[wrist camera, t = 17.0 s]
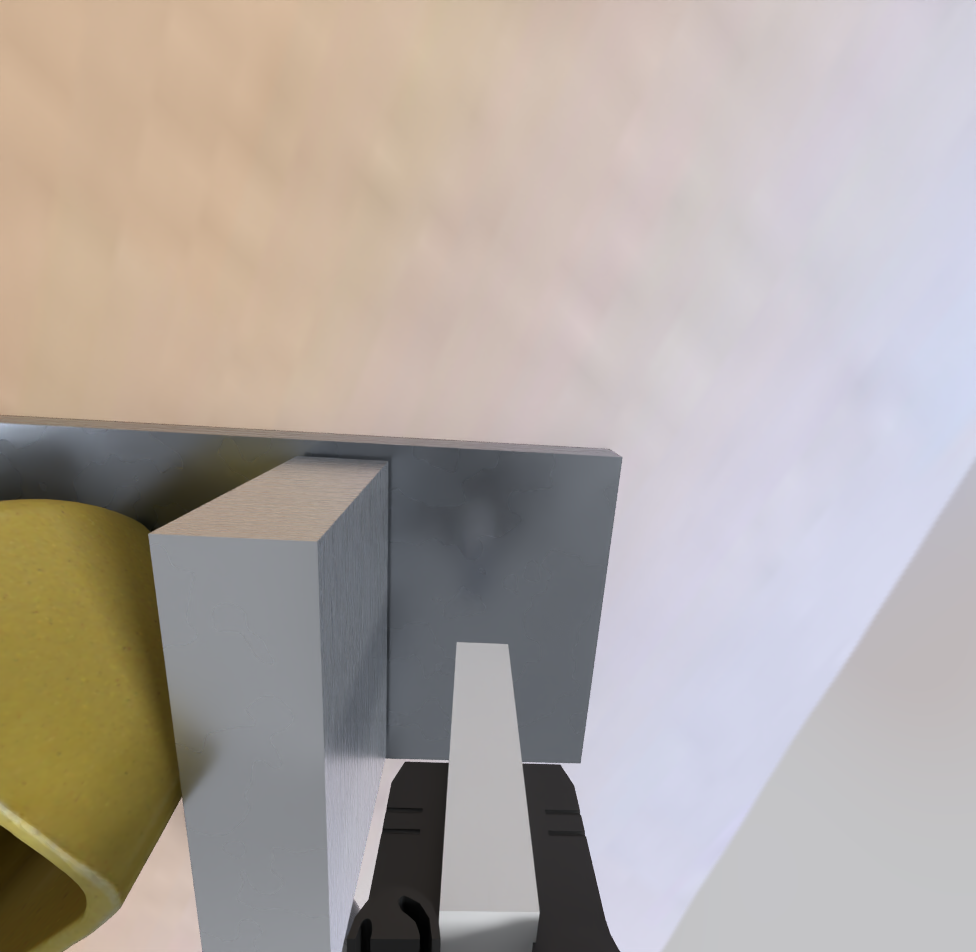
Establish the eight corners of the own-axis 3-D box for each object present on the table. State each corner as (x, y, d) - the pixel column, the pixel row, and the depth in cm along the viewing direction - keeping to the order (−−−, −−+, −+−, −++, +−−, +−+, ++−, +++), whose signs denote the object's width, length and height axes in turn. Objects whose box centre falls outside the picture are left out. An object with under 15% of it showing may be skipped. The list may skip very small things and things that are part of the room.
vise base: (-117, 408, 16) (-758, 457, 8) (609, 449, 17) (737, 530, 9) (-36, 717, 19) (-427, 989, 11) (572, 734, 20) (641, 992, 12)
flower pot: (-44, 581, 16) (-674, 847, 7) (131, 437, 15) (-357, 542, 6) (142, 743, 18) (-178, 1110, 9) (310, 625, 17) (131, 911, 8)
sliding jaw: (278, 454, 15) (113, 532, 8) (388, 460, 15) (317, 541, 8) (300, 863, 19) (204, 1138, 12) (385, 864, 19) (336, 1136, 13)
